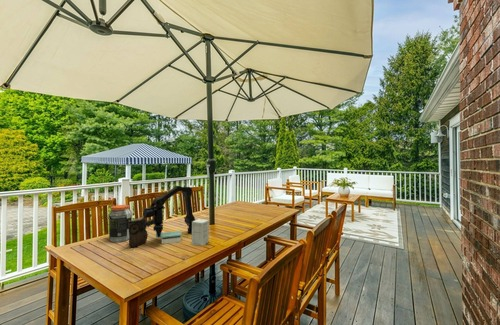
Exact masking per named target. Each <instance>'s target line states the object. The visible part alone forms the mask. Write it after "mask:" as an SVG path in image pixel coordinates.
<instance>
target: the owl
mask: <svg viewBox="0 0 500 325" xmlns="http://www.w3.org/2000/svg"><path fill="white" fill-rule="evenodd" d="M146 222H147V220H146V218H144V217H143V216H142V217H138V218H135V219H132V221H129V239H128V245H129V248H130V249H131V248H133V249H137V248H139V246H142V245H145V244H146V242H147V239H148V236H149V233H148V230H147V225H146Z"/></svg>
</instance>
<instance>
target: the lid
mask: <svg viewBox="0 0 500 325" xmlns="http://www.w3.org/2000/svg"><path fill="white" fill-rule="evenodd" d="M174 236H181V237H182V231H181V230H175V231H167V232H165V231H164V232H161V234H160V237H158V236H157V232H156V231H155V238H156V239H158V238H161V239H162V238H165V237H174Z"/></svg>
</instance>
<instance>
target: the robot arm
mask: <svg viewBox="0 0 500 325" xmlns="http://www.w3.org/2000/svg"><path fill="white" fill-rule="evenodd" d="M178 192H181V193H182V197H183V198H184V204H185V212H186V214H185V216H184V218H183V219H184V223H185V225H186V226H188V227H187V234H191V235H192V222H193V221H195V220H196V219H195V218H196V217H195V216H194V214H193V205H192V195H193V188H192V187H191V186H181V185H175V186H174V187H173V188H171V189H170V190H168V191H167V192H165V193H164V194H163V195H161V196H157V197H155V198H154V199H153V200H152V203H151V204H150V206H149V207H145V208H143V212H142V217H144V218H145V219H148V218H151V219H149V220H146V225H147V227H150V226H152V225H153V231H155V233H156V232H157V236H158V237H160V234H161V233H163V229H164V226H163V225H164V220H163V210H165V209H166V207H165V206H164V205H165V204H166V202H167V201H168V200H169V199H170V198H171V197H174V195H175V194H177V193H178ZM152 217H153V218H152ZM147 227H146V228H147ZM160 238H161V237H160Z"/></svg>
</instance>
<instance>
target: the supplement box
mask: <svg viewBox="0 0 500 325" xmlns="http://www.w3.org/2000/svg"><path fill="white" fill-rule="evenodd" d="M209 231H210V220H209V219H203V218H198V219H195V221H193V222H192V234H191V245H194V246H195V245H197V246H204V245H206V244H208V243H209V242H210V240H209V239H210V235H209V234H210V232H209Z"/></svg>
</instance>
